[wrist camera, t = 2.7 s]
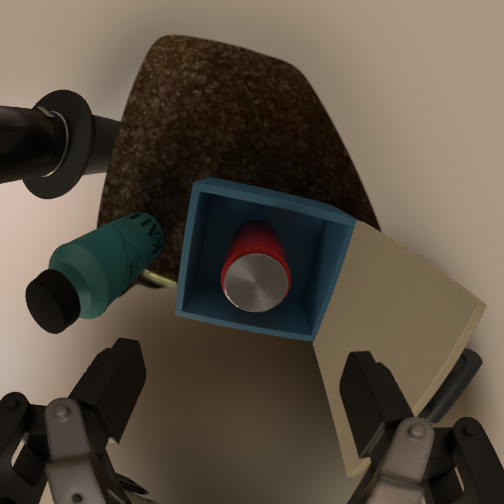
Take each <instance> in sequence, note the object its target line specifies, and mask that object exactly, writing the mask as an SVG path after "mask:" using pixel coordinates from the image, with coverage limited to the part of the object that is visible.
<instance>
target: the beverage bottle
mask: <svg viewBox="0 0 504 504" xmlns="http://www.w3.org/2000/svg"><path fill="white" fill-rule="evenodd" d="M133 212H134V211H133ZM125 215H126V214H125ZM120 217H121V216H120ZM120 217H119V219H117V220H114V221H111V222H109V223H107V224H104V225H103V226H101V227H99V228H98V229H96V230H93V231H91V232H89V233H87V234H85V235H83V236H81V237H79V238H77V239H75V240H73V241H71V242H69V243H66V244H63V245H61V246H59V247H58V248H57V249H56V250H55V251H54V252H53V255H52V256H51V258H50V261H49V268H48V270H45V271H43V272H42V273H40V274H39V275H38V276H37V278H35V279H34V280H33V281H32V282H30V283H29V285H28V286H27V288H26V296H25V297H26V303H27V306H28V309H29V311H30V313H31V315H32V317H33V318H34V320H35V321H36V322H37V324H38V325H40V327H42V328H43V329H44V330H45V331H47V332H49V333H52V334H58V333H60V332H62V331H64V330H65V329H66V328H67V327H68V326H70V325H72V324H73V323H74V322H75V321H76V320H77V319H78V318H84V319H93V318H96V317H98V316H100V315H102V313H103V312H105V310H106V309H107V307H108V306H109V305H110V304H111V303H112V302H113V301H114V300H115V299H116V298H117V297H118V296H119V295H120V294H122V292H123V291H124V290H125V289H126V288H127V287H128V288H129V286H130V284H131V283H132V282H133V280H134V279H136V277H137V276H138V275H139V274H140V273H141V272H142V271H143V270H144V269H145V268H146V267H148V265H150V263H151V262H152V261H154V259H155V258H158V255H159V254H160V252H161V251H163V250H162V248H164V247H163V244H164V234H163V230H162V228H161V226H160V224H159V222H158V221H157V220H156V219H155V218H154V217H152V216H151V215H149V214H146V213H143V212H141V211H140V212H135V213H130V214H129V215H126V216H122V217H121V218H120ZM160 255H161V254H160ZM144 271H145V270H144ZM141 274H142V273H141ZM136 280H137V279H136ZM128 288H127V289H128ZM127 289H126V290H127ZM120 297H121V296H120Z"/></svg>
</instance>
